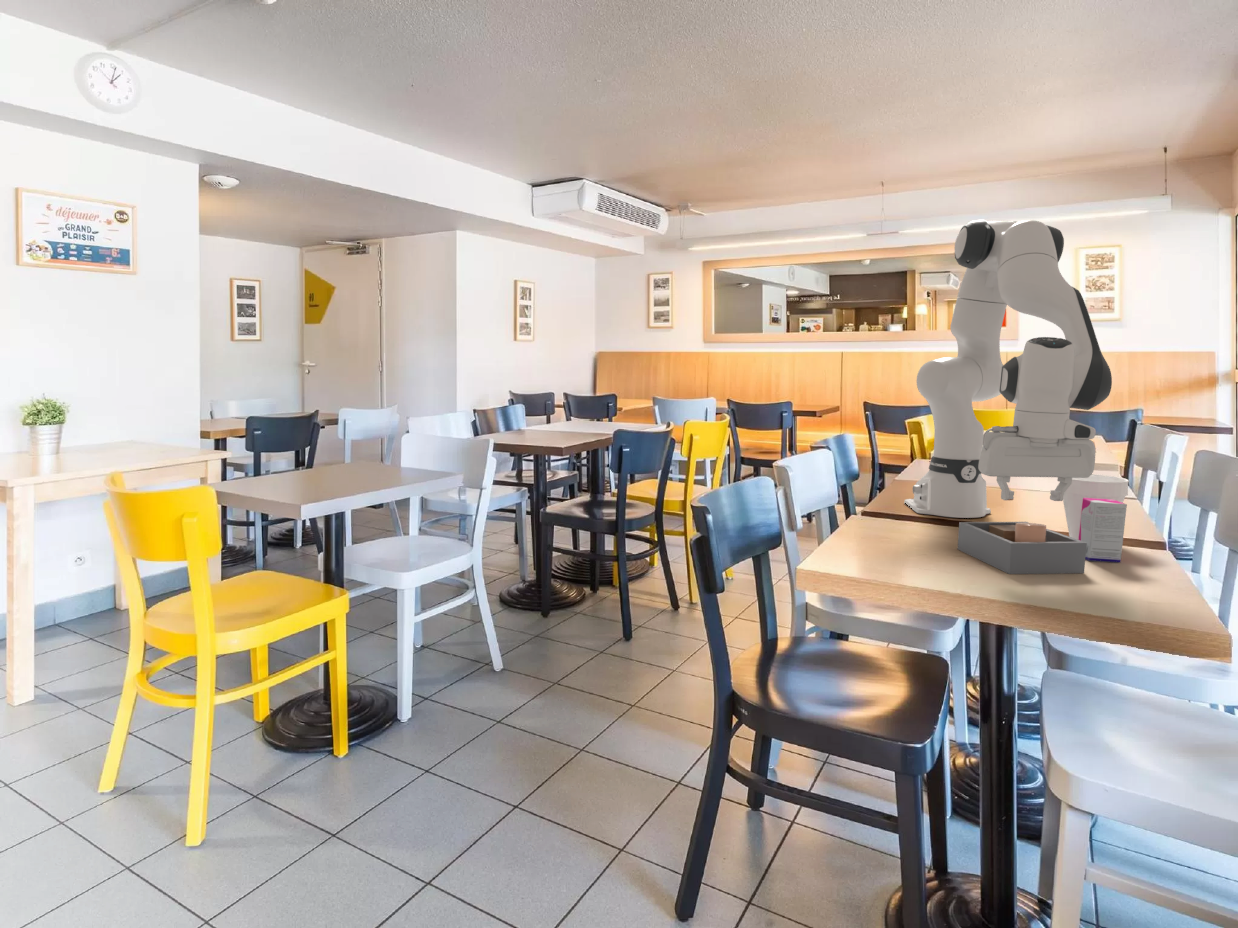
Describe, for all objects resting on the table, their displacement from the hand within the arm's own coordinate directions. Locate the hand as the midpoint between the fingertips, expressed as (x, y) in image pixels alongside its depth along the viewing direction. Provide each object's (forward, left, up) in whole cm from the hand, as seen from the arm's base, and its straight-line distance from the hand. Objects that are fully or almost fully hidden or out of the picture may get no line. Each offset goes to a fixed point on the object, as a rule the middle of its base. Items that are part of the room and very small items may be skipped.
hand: (1031, 500), depth 138 cm
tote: (-2, -1, -12) cm, 12 cm away
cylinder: (+2, -1, -11) cm, 12 cm away
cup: (-17, +24, -12) cm, 32 cm away
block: (-5, -1, -11) cm, 13 cm away
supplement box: (-3, +16, -12) cm, 20 cm away
